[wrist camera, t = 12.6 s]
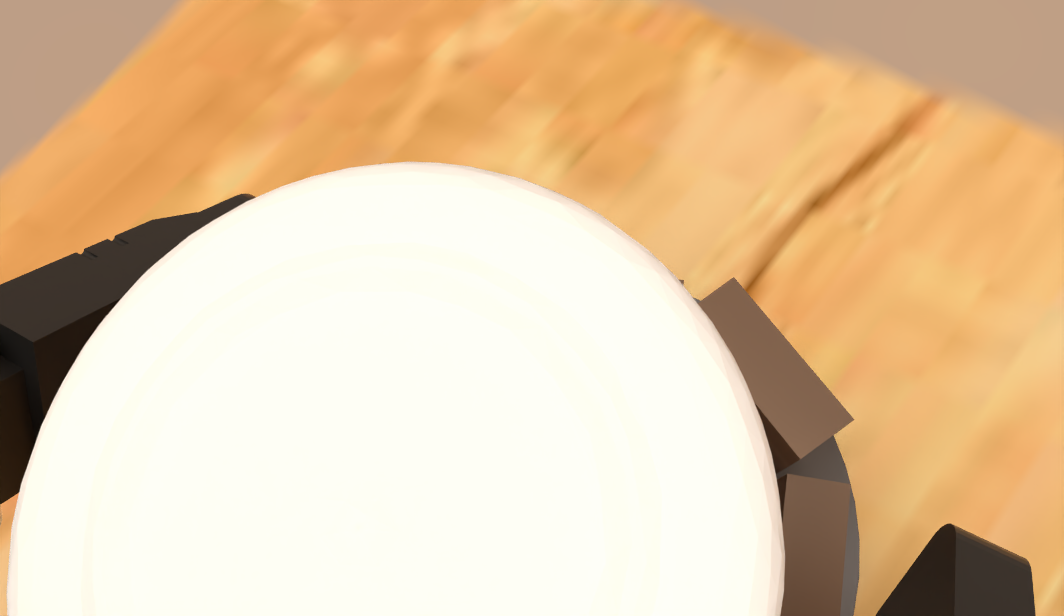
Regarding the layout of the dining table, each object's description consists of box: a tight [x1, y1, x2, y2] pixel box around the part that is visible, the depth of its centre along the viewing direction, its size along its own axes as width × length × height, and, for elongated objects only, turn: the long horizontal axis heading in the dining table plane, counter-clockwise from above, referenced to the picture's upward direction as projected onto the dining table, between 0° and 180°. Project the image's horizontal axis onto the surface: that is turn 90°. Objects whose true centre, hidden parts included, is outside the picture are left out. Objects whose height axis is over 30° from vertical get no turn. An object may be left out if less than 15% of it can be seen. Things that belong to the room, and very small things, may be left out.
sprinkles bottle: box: [7, 162, 785, 616], centre depth 11 cm, size 5×5×13 cm
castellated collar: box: [679, 278, 859, 616], centre depth 15 cm, size 11×11×6 cm
